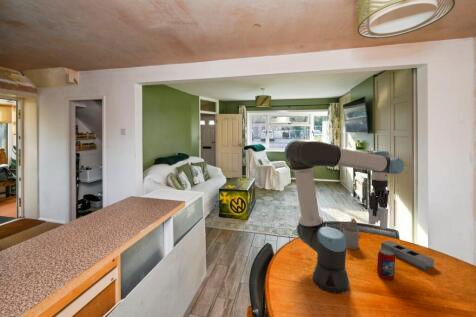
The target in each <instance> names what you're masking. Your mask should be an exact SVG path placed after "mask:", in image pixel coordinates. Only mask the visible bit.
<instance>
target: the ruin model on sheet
mask: <svg viewBox="0 0 476 317" xmlns="http://www.w3.org/2000/svg"><path fill="white" fill-rule="evenodd" d="M338 224H339V225H338V230H339V231H341V232H342V233H343V228H344V227H354V228H356V229H358V228H357V227H358V226H357V225H358V223H357V220H356V219H355V218H350V221H342V222H338Z"/></svg>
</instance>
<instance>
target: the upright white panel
mask: <svg viewBox="0 0 476 317" xmlns="http://www.w3.org/2000/svg"><path fill="white" fill-rule="evenodd" d="M378 211H379V217H380V221H379V228H380V229H382V230H385V229H388V221H389V220H388V217H389V209H388V208H383V207H379V205H378ZM368 224H369V225H376V224H377V222H374V221H373V210H372V209H370V204H369V206H368Z"/></svg>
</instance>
